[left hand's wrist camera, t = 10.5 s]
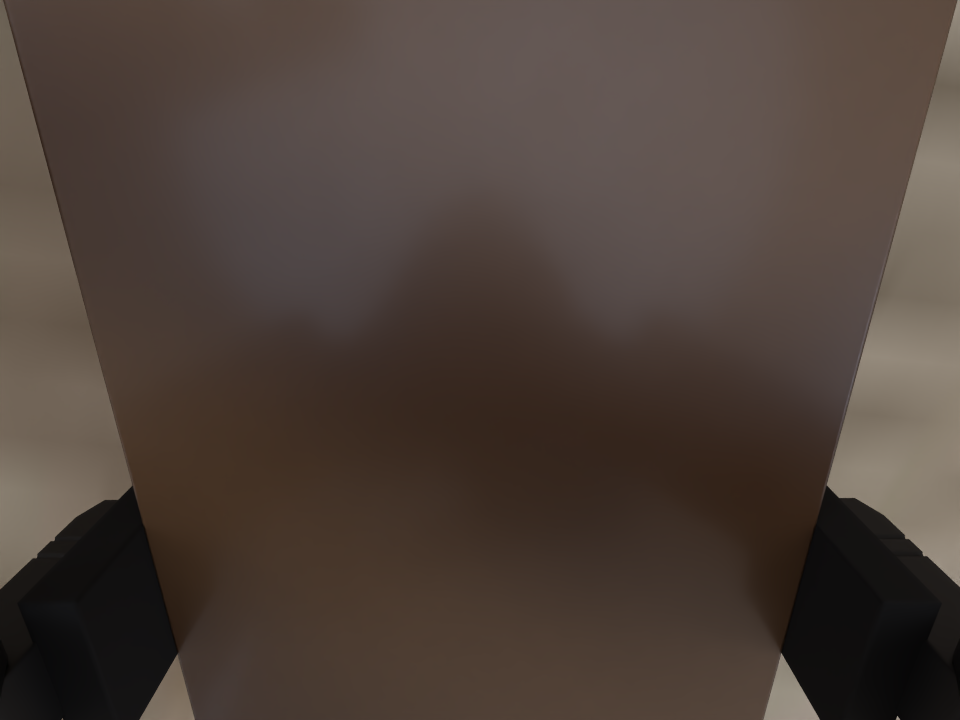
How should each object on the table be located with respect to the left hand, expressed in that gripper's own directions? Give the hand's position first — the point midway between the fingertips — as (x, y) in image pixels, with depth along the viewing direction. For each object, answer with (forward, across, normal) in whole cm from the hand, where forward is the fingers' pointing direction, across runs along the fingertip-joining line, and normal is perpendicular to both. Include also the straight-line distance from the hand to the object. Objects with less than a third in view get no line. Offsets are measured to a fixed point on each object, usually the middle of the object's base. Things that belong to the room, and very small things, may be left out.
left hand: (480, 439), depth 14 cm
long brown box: (+6, 0, -5) cm, 8 cm away
